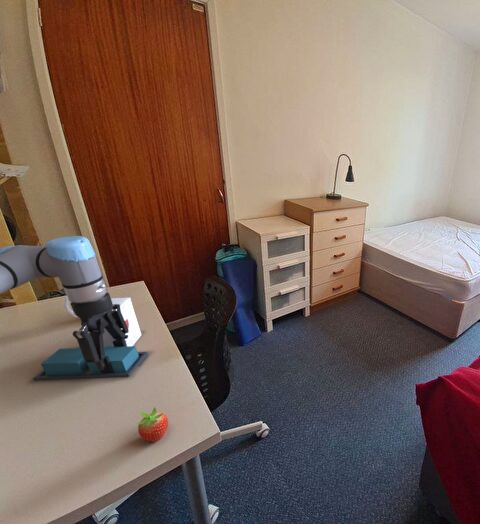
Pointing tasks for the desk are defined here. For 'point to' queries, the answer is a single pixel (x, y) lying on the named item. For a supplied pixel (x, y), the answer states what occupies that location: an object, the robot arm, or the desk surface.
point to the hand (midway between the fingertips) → (117, 366)
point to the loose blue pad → (118, 359)
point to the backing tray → (141, 359)
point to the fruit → (153, 426)
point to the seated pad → (65, 363)
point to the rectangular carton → (129, 320)
